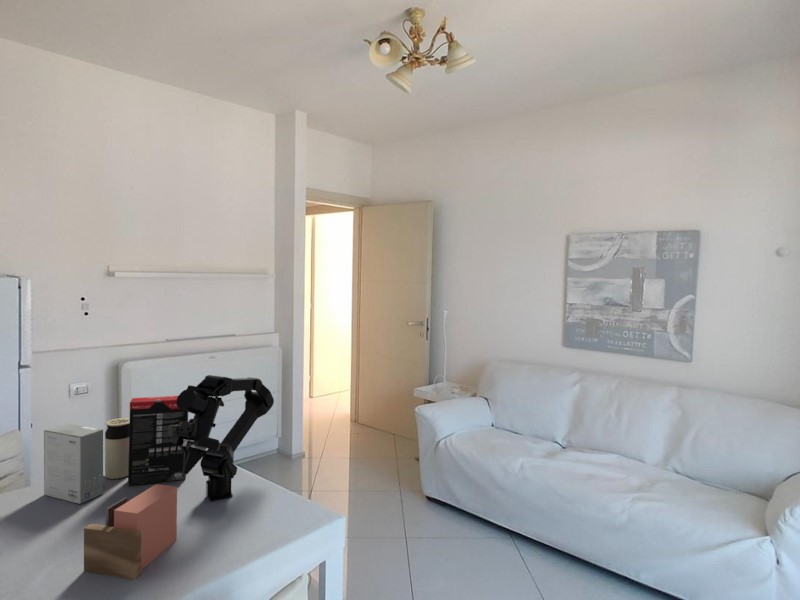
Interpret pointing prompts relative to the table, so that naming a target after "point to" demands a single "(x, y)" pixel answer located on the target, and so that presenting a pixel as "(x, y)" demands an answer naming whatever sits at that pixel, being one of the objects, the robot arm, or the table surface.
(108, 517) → the bookend
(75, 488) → the hard drive box
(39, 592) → the table surface
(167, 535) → the book box
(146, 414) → the graphics card box
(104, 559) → the shelf wall
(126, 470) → the travel mug
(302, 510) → the table surface
